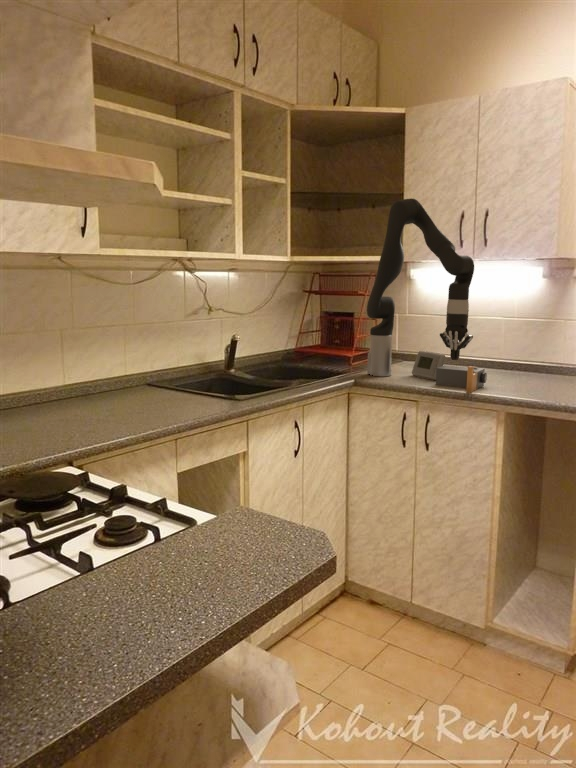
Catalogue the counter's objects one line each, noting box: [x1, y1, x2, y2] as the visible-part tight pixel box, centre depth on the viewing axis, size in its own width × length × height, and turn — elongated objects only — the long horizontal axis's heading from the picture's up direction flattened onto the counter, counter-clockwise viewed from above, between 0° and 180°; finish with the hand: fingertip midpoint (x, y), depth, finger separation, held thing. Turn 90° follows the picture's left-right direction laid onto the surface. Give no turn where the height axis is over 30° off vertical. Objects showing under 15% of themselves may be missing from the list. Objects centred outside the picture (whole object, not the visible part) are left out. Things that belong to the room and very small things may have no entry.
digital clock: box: [411, 350, 446, 381], centre depth 251 cm, size 16×9×11 cm, turn 15°
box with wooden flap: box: [435, 364, 488, 389], centre depth 234 cm, size 18×9×7 cm, turn 57°
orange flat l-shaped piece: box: [465, 365, 478, 394], centre depth 222 cm, size 10×2×10 cm, turn 149°
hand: (454, 359), depth 220 cm, fingers closed
